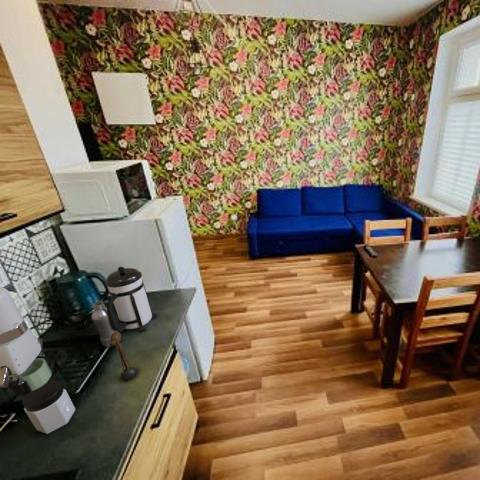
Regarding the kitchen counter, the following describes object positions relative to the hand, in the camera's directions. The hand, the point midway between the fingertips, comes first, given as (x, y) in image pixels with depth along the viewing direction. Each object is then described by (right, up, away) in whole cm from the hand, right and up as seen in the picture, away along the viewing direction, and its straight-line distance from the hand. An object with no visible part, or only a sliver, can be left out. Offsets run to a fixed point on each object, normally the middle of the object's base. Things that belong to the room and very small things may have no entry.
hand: (33, 380), depth 76 cm
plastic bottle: (-6, -3, +36) cm, 37 cm away
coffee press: (-2, +1, +46) cm, 46 cm away
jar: (0, -16, +7) cm, 17 cm away
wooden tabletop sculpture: (+12, -10, +21) cm, 26 cm away
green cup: (0, -1, 0) cm, 1 cm away
